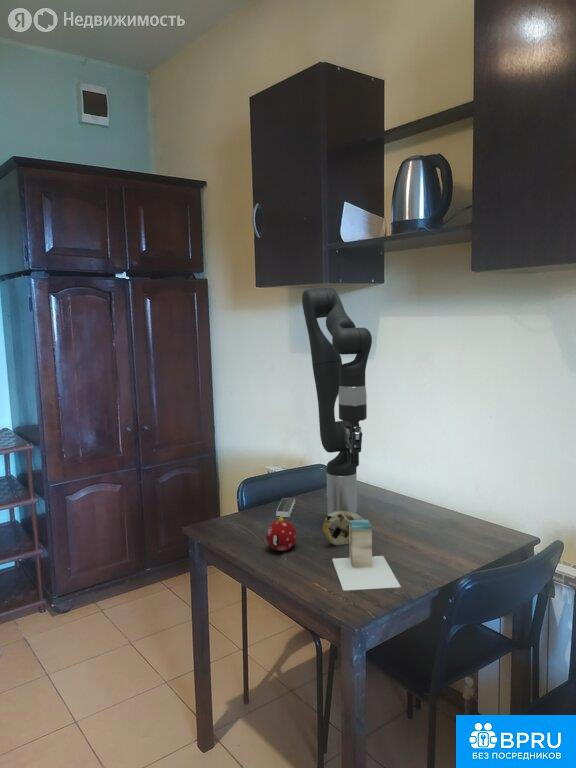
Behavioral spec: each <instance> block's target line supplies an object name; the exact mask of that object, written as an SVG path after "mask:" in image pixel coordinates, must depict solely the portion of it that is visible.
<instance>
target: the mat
mask: <svg viewBox="0 0 576 768" xmlns="http://www.w3.org/2000/svg"><path fill="white" fill-rule="evenodd" d="M331 559H332V562H333V565H334V569H335V571H336V574H337V577H338V579H339V583H340V585H341V588H342V591H343V592H344V591H345V592H346V591H360V590H374V589H391V588H393V589H394V588H396V589H397V588H401V587H402V586H401V584H400V582H399V581H398V579H397V577H396V575H395V574H394V572H393V571H392V569H391V567H390V565H389V563H388V561H387V560H386V558H385V556H384V555H375V556H373V555H372V567H367V568H353V567H352V565H351V562H350V557H340V558H339V557H338V558H331Z"/></svg>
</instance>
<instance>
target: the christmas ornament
mask: <svg viewBox="0 0 576 768" xmlns="http://www.w3.org/2000/svg"><path fill="white" fill-rule="evenodd" d="M265 535H266V536H265V538H266V542H267V543H268V545H269V546H270V548H271V549H273V550H275V551H276V552H277V551H278V552H284V551H288V550H290V549H292V547H293V546H294V545H295V543H296V541H297V539H298V538H297V536H298V535H297V530H296V528H295V525H293V524H292V523H291V522H290V521H288V520H286V519H284V518H283V516H280V517H278V520H275V521H273V522H272V523H270V525H269V526H268V527H267V530H266V534H265Z"/></svg>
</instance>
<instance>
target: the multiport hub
mask: <svg viewBox="0 0 576 768" xmlns="http://www.w3.org/2000/svg"><path fill="white" fill-rule="evenodd" d="M294 504H295V505H296V498H294V497H283V498H282V499H281V501H280V503H279V504H278V507H277V509H276V511H275V515H276V516H283V517H289V518H291V517H290V516H291V515H290V514H292V512H293V510H292V509H294V507H295V505H294ZM293 506H294V507H293Z"/></svg>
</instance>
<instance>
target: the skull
mask: <svg viewBox="0 0 576 768" xmlns="http://www.w3.org/2000/svg"><path fill="white" fill-rule="evenodd" d="M349 520H365V518H363V517H362V516H361V515H359V514H358V513H357V514H356V513H353V512H347V511H336V512H333V513H330V514H328V515H326V517H325V519H324V522H323V525H322V531H323V532H324V533H325V536H326V538H327V540H328V542H329V543H330V544H331V545H333V546H344V545H349ZM331 524H334V525H335V528H334V529H332V532H331V531H330V528H329V526H330V525H331Z"/></svg>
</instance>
